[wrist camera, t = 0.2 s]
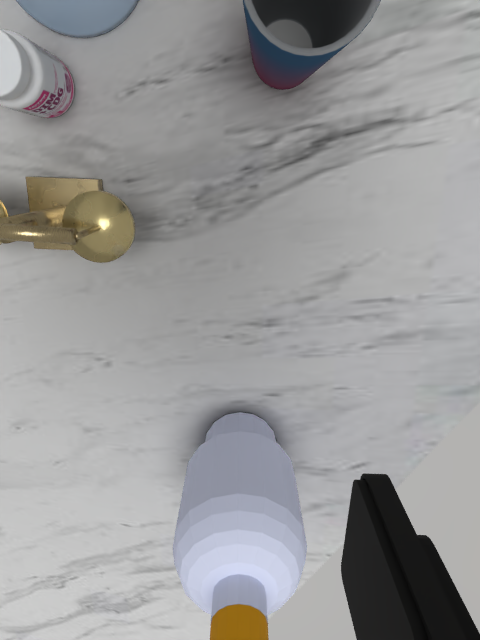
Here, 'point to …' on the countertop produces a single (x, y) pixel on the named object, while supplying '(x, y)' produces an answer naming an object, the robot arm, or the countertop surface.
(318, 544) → the countertop surface
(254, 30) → the cup
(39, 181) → the balance
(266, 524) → the soap bottle
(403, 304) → the countertop surface
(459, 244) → the countertop surface
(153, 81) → the countertop surface
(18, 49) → the pill bottle
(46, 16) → the saucer
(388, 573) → the robot arm
